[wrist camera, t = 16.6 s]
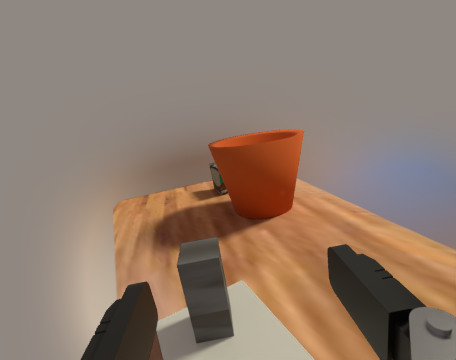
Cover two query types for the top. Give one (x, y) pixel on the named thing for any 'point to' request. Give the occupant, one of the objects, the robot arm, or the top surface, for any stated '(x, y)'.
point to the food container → (217, 179)
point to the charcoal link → (205, 289)
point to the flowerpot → (260, 171)
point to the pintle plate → (243, 334)
